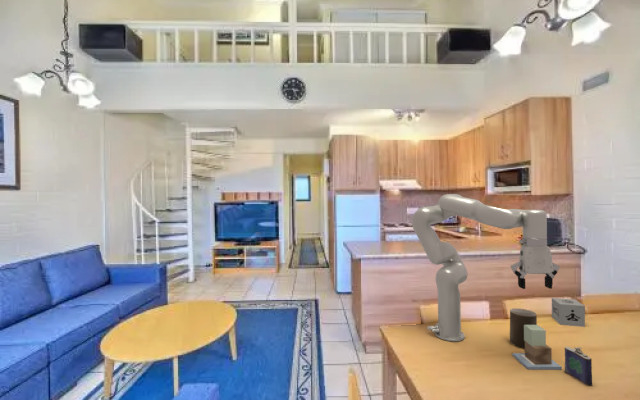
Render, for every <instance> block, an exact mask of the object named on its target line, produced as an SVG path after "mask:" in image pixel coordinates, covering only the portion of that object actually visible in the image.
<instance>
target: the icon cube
mask: <svg viewBox="0 0 640 400" xmlns="http://www.w3.org/2000/svg"><path fill="white" fill-rule="evenodd" d="M551 318H552V319H553V318H554V319H555V320H554V319H553V320H554V321H556V323H557V324H559V326H570V327H579V328H580V327H582V328H585V327H586V306H585V304H582V303H581V302H579V301H578V300H577V299H574V298H573V299H572V298H561V297H560V298H558V297H551Z"/></svg>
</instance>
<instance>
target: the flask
mask: <svg viewBox="0 0 640 400" xmlns="http://www.w3.org/2000/svg"><path fill="white" fill-rule="evenodd" d="M581 349H582V347H580V346H579V347H578V346H577V347H574V348H572V347H570V346H565V347H564V372H565V373H566V374H567V375H569V376H571V378H573V379H576V380H578V382H581V383H583V384H584V385H585V386H588V387H592V386H593V371H592V369H593V368H592V365H593V364H592V363H593V362H592V361H593V360H592V358H591V357H590V356H588V355H587V354H585V353H584V352H583V350H581Z"/></svg>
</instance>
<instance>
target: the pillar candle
mask: <svg viewBox="0 0 640 400" xmlns="http://www.w3.org/2000/svg"><path fill="white" fill-rule="evenodd" d="M537 316H538V315H537V313H536V311H535V312H534V311H533V310H530V309H527V308H526V309H524V308H510V310H509V343H511V344H512V345H513V346H515V347H517V348H521V349H524V350H525V340H524V325H538V321H537Z"/></svg>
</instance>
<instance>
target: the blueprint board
mask: <svg viewBox="0 0 640 400" xmlns="http://www.w3.org/2000/svg"><path fill="white" fill-rule="evenodd" d="M511 355H512V357H513V358H514V359H515V360H516V361H518V362H519V364H521V365H522V366H523V367H524V368H525V369H527V370H545V371H546V370H547V371H548V370H552V371H553V370H555V371H556V370H558V371H559V370H563V369H562V368H563V367H562V365H560V364H558V362H555V360H553V359H552V365H535V364H534V363H532V362H531V361H530V360H529V359H528V358H526V357H525V352H513V353H511Z"/></svg>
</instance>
